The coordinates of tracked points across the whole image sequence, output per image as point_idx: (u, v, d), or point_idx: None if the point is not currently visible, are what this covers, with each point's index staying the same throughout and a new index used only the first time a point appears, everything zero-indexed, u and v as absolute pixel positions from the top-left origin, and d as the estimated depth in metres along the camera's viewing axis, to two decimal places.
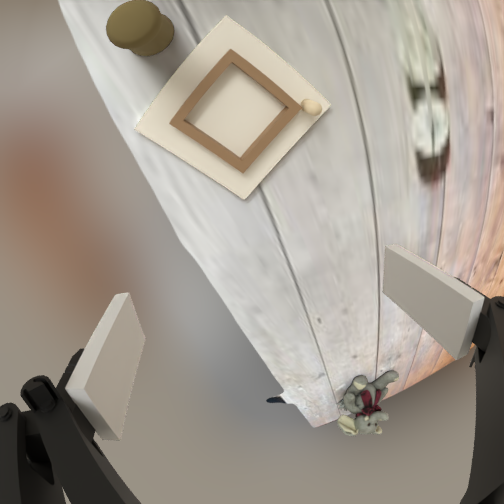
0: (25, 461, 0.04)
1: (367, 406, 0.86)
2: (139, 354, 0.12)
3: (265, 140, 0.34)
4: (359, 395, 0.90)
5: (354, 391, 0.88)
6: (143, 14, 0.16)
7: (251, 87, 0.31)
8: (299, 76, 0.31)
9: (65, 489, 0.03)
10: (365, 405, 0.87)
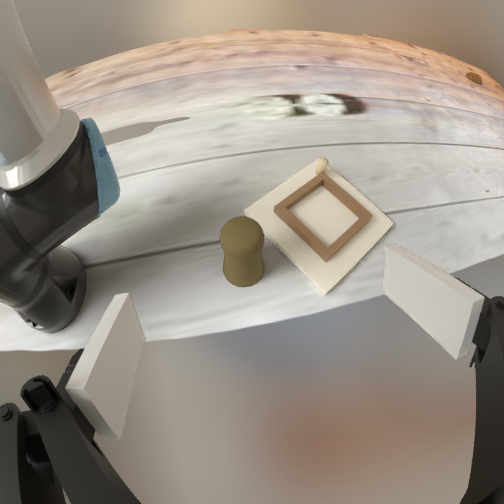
0: (25, 461, 0.04)
1: None
2: (139, 354, 0.12)
3: (347, 196, 0.45)
4: None
5: None
6: (239, 221, 0.33)
7: (306, 203, 0.46)
8: (298, 174, 0.49)
9: (65, 489, 0.03)
10: None
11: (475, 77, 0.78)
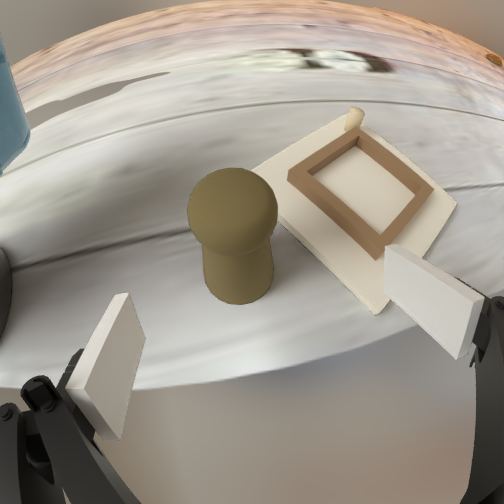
0: (25, 461, 0.04)
1: None
2: (139, 354, 0.12)
3: (396, 161, 0.27)
4: None
5: None
6: (226, 176, 0.16)
7: (336, 169, 0.28)
8: (320, 130, 0.31)
9: (65, 489, 0.03)
10: None
11: (496, 59, 0.61)
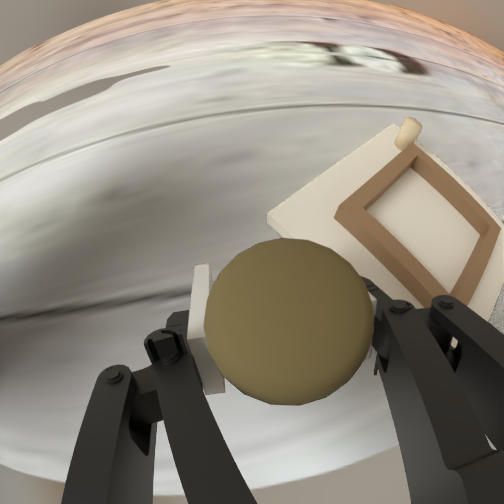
0: (126, 430, 0.06)
1: None
2: None
3: (462, 191, 0.19)
4: None
5: None
6: (283, 263, 0.08)
7: (393, 200, 0.21)
8: (367, 144, 0.23)
9: (171, 442, 0.05)
10: None
11: None
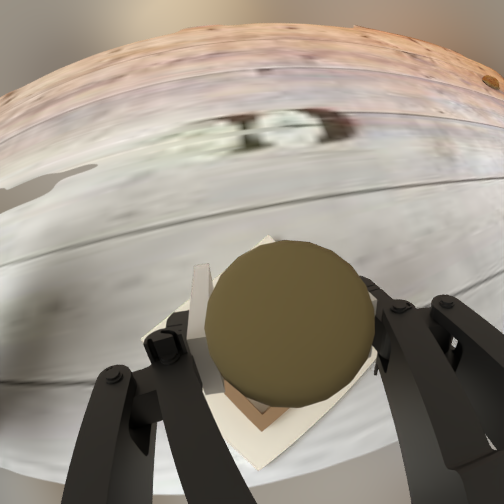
0: (126, 431, 0.06)
1: None
2: None
3: None
4: None
5: None
6: (284, 266, 0.08)
7: None
8: None
9: (171, 442, 0.05)
10: None
11: (493, 82, 0.61)
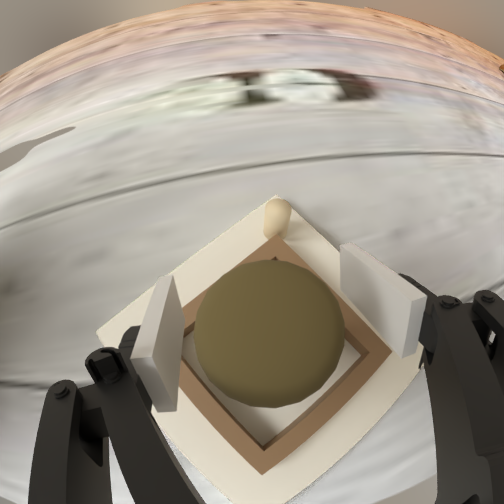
0: (77, 442, 0.05)
1: None
2: (182, 333, 0.14)
3: None
4: None
5: None
6: (262, 284, 0.09)
7: None
8: (222, 237, 0.22)
9: (119, 461, 0.05)
10: None
11: None
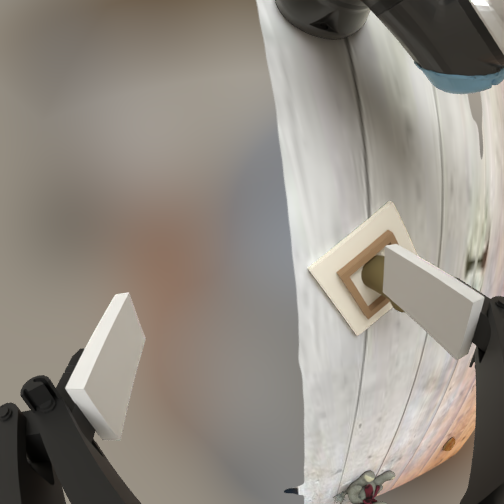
0: (25, 461, 0.04)
1: (368, 497, 0.72)
2: (139, 354, 0.12)
3: (388, 299, 0.47)
4: (362, 488, 0.77)
5: (361, 484, 0.76)
6: None
7: None
8: None
9: (65, 489, 0.03)
10: (367, 496, 0.73)
11: (448, 446, 0.85)
